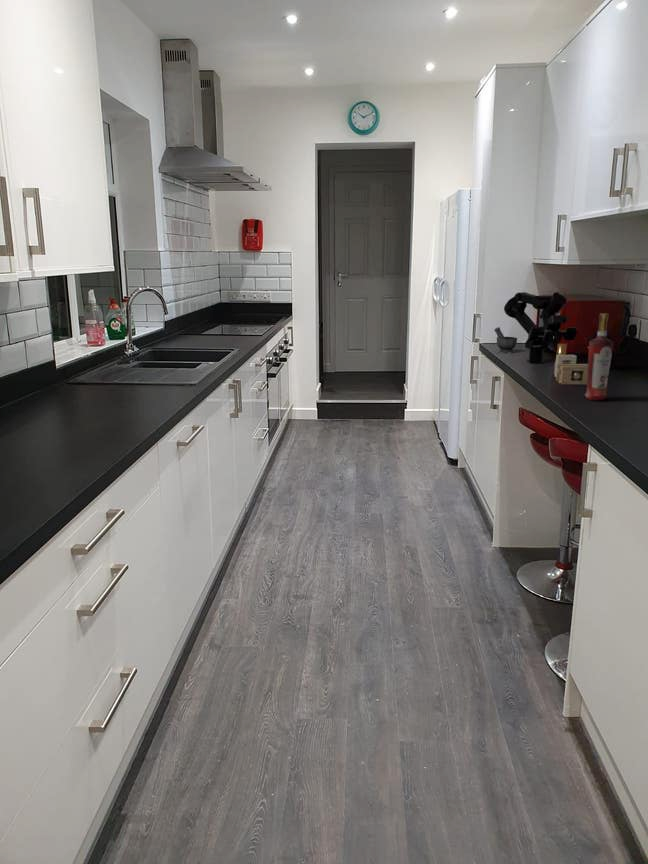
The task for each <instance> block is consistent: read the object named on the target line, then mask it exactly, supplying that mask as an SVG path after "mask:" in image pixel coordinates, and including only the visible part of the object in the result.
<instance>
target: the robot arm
mask: <svg viewBox="0 0 648 864" xmlns="http://www.w3.org/2000/svg"><path fill="white" fill-rule="evenodd" d="M566 304H567V298H566V297H565V296H564V295H562V294H561V293H559V292H555V291H554V292H553V293H552V295H536V294H531V293H528V292H523V291H522V292H521V291H520V292H517V293H515V295H514V296H512V297H511V298H510V299H508V300H507V302H506V303H505V304H504V307H503V309H504V313H505V314H506V316H508V317H509V318H512V319H515V320H516V321H517V323H518V324H519V326H521V327H522V328H523V330H524V331H525V332H526V334H528V335H527V340H526V341H525V343H524V346H525V347H524V348H525V349H529V355H528V359H526V361H527V362H528V363H529V364H544V363H546V361H544V360H543V358H544V349H549V347H550V348H551V349H552V350H553V351H554V352H557V344H558V343H561V341H562V339H563V340H564V341H565V342H566V341H574V340H575V339H576V336H577V335H578V328H577V327H576V326H574V327H571V326H570V327H566V328H565V330H560V329H562V325H563V324H566V323H567V321H568V317H567V314H561V315H560V314H559V313H560V312H561V310H563V308H564V306H565V305H566ZM527 305H532V308H534V309H535V310H541V313H540V315H539V319H542V324H543V325H542V326H537V325H536V323H535V322H534V321H533V320H532V319H531V317H529V316H528V314H527V312H525V310H526V308H527V307H528V306H527ZM557 314H559V315H557Z"/></svg>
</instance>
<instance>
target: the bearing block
mask: <svg viewBox="0 0 648 864" xmlns="http://www.w3.org/2000/svg"><path fill="white" fill-rule="evenodd" d="M572 371H576V372H578V373H579V374H580V375H581V376H580V378H579V379H575V378H571V375H572ZM587 377H588V363H576V364H557V375H556V377H555V381H556V382H557V381H558V382H557V383H559V384H560V383H561V384H560V385H587Z"/></svg>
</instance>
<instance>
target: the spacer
mask: <svg viewBox="0 0 648 864" xmlns="http://www.w3.org/2000/svg"><path fill="white" fill-rule="evenodd" d="M555 357H556V358H555V362H556V365H555V374H554V377H555V378H556V375H557V364H562V360H565V361H568V362H569V364H577V357H578V356H577V355H575V354H566V355H557V354H556V356H555ZM571 378H573V377H571Z"/></svg>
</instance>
